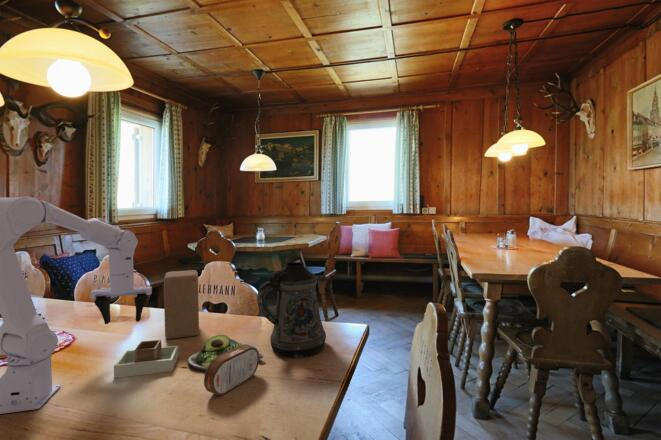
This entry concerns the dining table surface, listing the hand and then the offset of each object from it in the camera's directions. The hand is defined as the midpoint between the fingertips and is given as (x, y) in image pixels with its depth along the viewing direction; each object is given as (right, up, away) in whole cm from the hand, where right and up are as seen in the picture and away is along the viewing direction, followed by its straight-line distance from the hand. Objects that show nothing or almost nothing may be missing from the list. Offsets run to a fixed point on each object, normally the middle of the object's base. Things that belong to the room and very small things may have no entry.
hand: (123, 321), depth 96 cm
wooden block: (+9, -9, +18) cm, 22 cm away
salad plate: (+28, -11, 0) cm, 30 cm away
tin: (+35, -11, -15) cm, 40 cm away
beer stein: (+47, -10, +6) cm, 49 cm away
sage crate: (+10, -10, -5) cm, 15 cm away
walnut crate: (+10, -10, -5) cm, 15 cm away
